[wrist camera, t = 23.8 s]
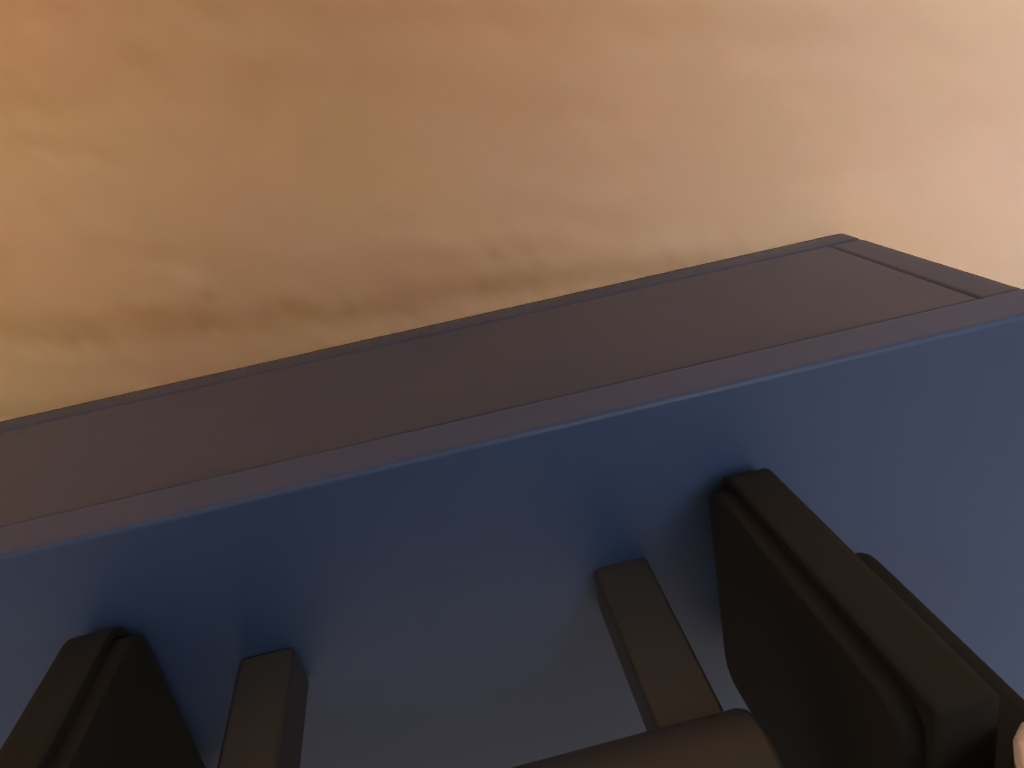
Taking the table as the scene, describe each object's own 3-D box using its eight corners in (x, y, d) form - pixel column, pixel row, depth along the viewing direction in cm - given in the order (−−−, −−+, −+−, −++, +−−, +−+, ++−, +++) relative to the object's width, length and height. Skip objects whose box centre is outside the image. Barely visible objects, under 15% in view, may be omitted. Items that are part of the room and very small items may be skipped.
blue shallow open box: (-69, 436, 14) (-280, 593, 10) (842, 232, 16) (1026, 288, 11) (216, 967, 21) (167, 1213, 16) (853, 790, 22) (974, 973, 17)
